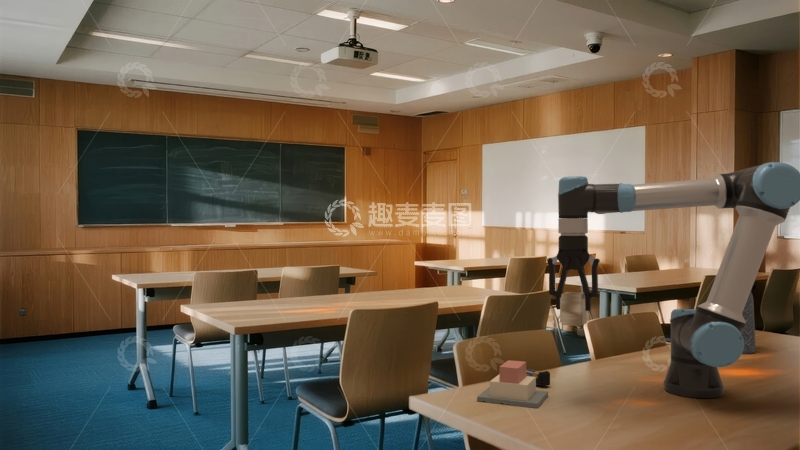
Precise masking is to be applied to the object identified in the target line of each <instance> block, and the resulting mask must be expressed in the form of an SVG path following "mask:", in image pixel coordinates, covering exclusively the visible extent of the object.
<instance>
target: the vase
mask: <svg viewBox="0 0 800 450" xmlns="http://www.w3.org/2000/svg"><path fill="white" fill-rule="evenodd" d="M754 302H755V301H754V296H753V293H752V290H751V291H750V294H749V297H748V299H747V302H746V304H745V307H744V310H743V312H742V316H743V318H744V320H745V322H746V324H745V326H744V329H743V332H742V336H743V339H744V350H743V353H742V355H749V354H753V353H756V349H757V348H756V327H755V326H756V323H755V303H754Z"/></svg>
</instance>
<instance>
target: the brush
mask: <svg viewBox="0 0 800 450" xmlns="http://www.w3.org/2000/svg"><path fill="white" fill-rule="evenodd" d="M526 376H531V377H536V385H538V386H543V387H546V386H550V385H551V372H550V371H548V370H545V371H544V370H543V371H541V370H534V369H531V368H528V369H527V368H526Z"/></svg>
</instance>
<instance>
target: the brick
mask: <svg viewBox="0 0 800 450" xmlns="http://www.w3.org/2000/svg"><path fill="white" fill-rule="evenodd" d="M583 298H585V295H584V292H580V291H579V292H578V291H575V292H574V291H565V292H563V293H562V294H561V322H560V323H561V326H569V327H570V326H571V327H572V326H573V327H575V326H576V327H582V326H583V325H584V324H582V299H583Z"/></svg>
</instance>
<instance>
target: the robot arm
mask: <svg viewBox="0 0 800 450" xmlns="http://www.w3.org/2000/svg"><path fill="white" fill-rule="evenodd" d="M557 199H558V200H557V201H558V208H557V209H558V219H557V220H558V225H557V226H558V227H557V229H558V234H560V235H559V236H558V252H557V254H556V256H553V257H549V258H547V260H546V262H547V264H548V293H549V295H551V296H552V297H553V296H554V297H555V308H556V309H557V310H559V323H561V294H563V293H564V288H565V285H566V281H567V277H568V273H569V271H570V270H574V271H577V273H578V276H579V279H580V283H581V287H582V291H583V293H584V295H585V298H583V299H582V324H583V325H585V324H587V320H588V319H587V318H588V317H587V316H588V315H587V314H588V312H590V310H592V309H591V308H592V307H591V305H592V301H591V299H592V298H594V297H597V296H598V294H599V274H598V273H599V272H598V269H599V268H598V267H599V265H600V262H601V259H599V258H595V257H592V256H591V255H590V253H589V237H588V236H587V235H586V234H588V233H589V229H588V227H589V222H588V217H589V215H588V213H595V214H597V215H605V214H614V213H616V214H617V213H621V214H622V213H623V214H624V213H631V212H640V211H652V210H668V209H681V208H682V209H683V208H694V207H695V208H697V207H698V208H699V207H710V206H711V207H712V206H715V207H716V208H717V209H720V210H721V209H735V210H736V211H737V213H738V218H737V221H736V223H735V226H734V229H733V231H732V233H731V237H730V238H729V241H728V244H727V247H726V250H725V252H724V255H723V257H722V259H721V263H720V265H719V268H718V269H717V270H718V271H717V273H716V276H715V278H714V280H713V281H714V282H713V283H712V286H711V288H710V291H709V294H708V297H707V299H706V301H704V302H703V303H701V304H698V305H697V307H696V309H695V308H694V309H693V308H692V309H691V308H689V309H687V308H684V309H681V308H680V309H679V308H675V309H673V310H672V311H671V312H670V319H669V323H670V364H669V366H668V369H667V373H666V375H665V378H664V380H663V389H664V390H665V391H666V392H667V393H670V394H673V395H676V396H682V397H686V398H687V397H688V398H696V399H697V398H698V399H715V398H721V397H723V396H724V394H725V386H724V384H723V380H722V378H721V374H720V372H719V369H718V368H724V367H728V366H730V365H733V364H734V363H736V362H737V361H738V360H739V359H740V358H741V356H742V355H743V354H742V353H743V350H744V339H743V336H742V332H743V329H744V326H745V324H746V322H745V320H744V318H743V316H742V312H743V310H744V307H745V304H746V302H747V299H748V297H749V294H750V291H751V292H752V289H753V286H754V284H755V280H756V278H757V275H758V274H759V273H758V272H759V270H760V267H761V265H762V262H763V260H764V257H765V254H766V252H767V249H768V247H769V244H770V241H771V239H772V236H773V233H774V231H775V229H776V227H777V225H780V224H782V223H784V222H785V221H786V219H787V216H788V215H789V213H790V209H791V208H792V207H794V206H795V205H797V204H798V203H799V202H800V171H799V170H798V168H796V167H794V166H792V165H791V164H789V163H785V162H781V161H780V162H779V161H774V162H773V161H770V162H765V163H762V164H760V165H759V164H758V165H754V166H749V167H747V168H744V169H740V170H736V171H733V172H728V173H717V174H715V175H714V176H713V178H712V177H711V178H698V179H689V180H688V179H686V180H676V181H662V182H661V181H660V182H649V183H637V184H631V183H622V182H621V183H600V184H598V183H597V184H595V183H589V181H588V177H586V176H580V175H578V176H575V175H573V176H571V175H570V176H564V177H561V178H560V179H559V180H558V192H557ZM558 262H559V264H560V265H561V266H562V269H561V273H560V277H559V281H558V285H557V289H556V265H557V263H558ZM588 262H589V264H590V266H591V291H590V285H589V283H588V280H587V279H588V278H587V276H586V271H585V266H586V264H587V263H588Z"/></svg>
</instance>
